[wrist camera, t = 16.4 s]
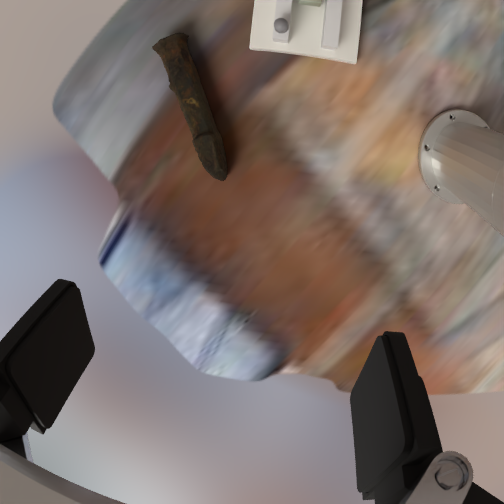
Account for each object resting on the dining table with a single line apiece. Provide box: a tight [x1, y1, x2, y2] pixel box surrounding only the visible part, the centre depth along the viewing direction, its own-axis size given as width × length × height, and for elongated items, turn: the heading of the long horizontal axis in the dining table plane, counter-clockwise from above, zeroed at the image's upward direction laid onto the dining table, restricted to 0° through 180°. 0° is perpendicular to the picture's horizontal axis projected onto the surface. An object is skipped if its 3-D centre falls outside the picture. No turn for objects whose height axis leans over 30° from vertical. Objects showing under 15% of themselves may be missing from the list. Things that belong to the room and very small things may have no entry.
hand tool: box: [152, 33, 227, 181], centre depth 34 cm, size 19×4×5 cm, turn 16°
